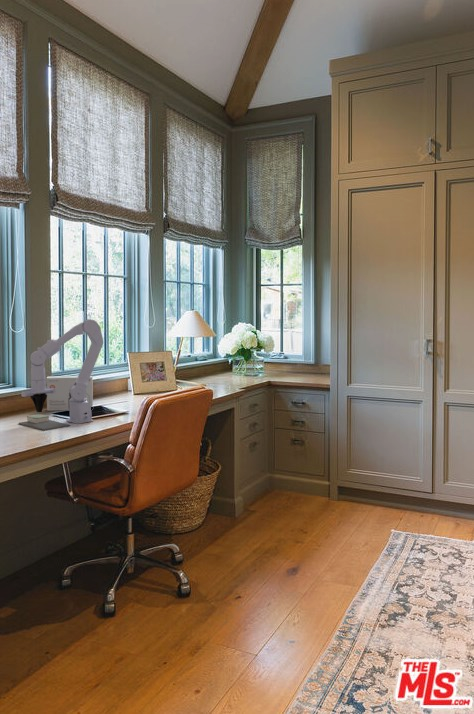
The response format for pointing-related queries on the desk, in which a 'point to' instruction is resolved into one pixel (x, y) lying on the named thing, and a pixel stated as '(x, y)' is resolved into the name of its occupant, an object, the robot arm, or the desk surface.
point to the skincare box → (64, 392)
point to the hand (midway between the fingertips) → (39, 411)
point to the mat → (44, 425)
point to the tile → (37, 418)
